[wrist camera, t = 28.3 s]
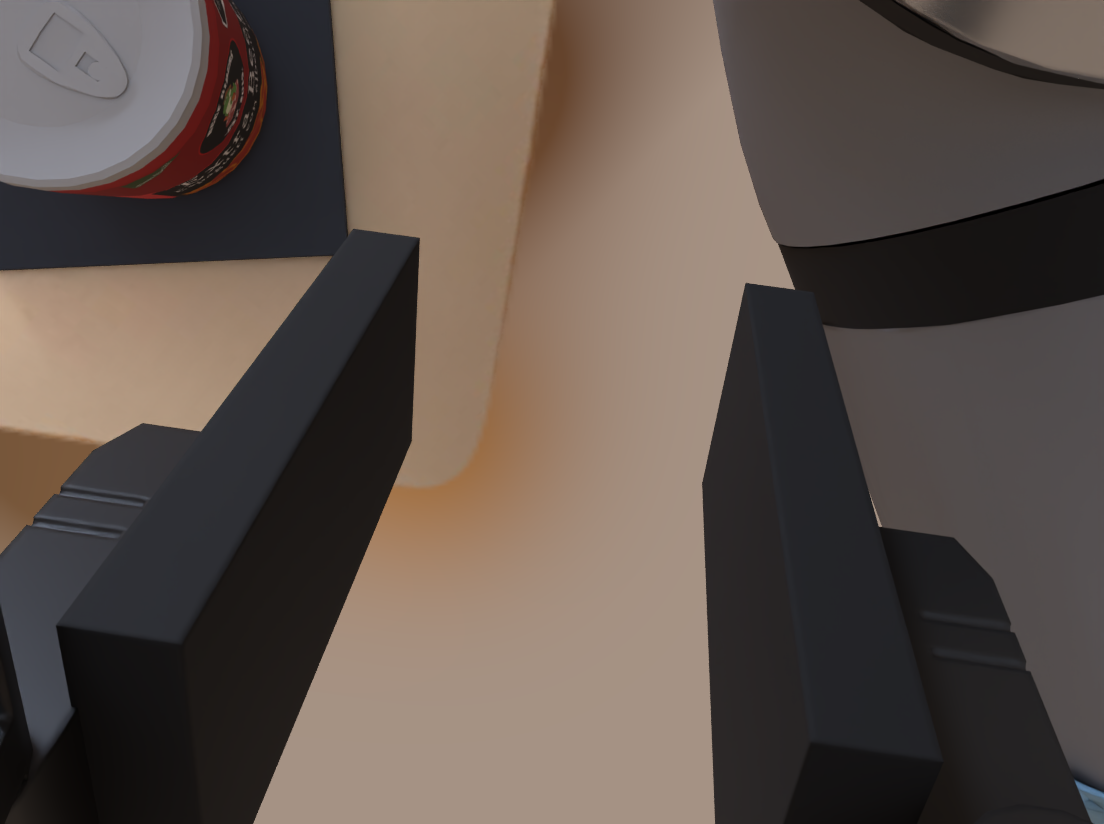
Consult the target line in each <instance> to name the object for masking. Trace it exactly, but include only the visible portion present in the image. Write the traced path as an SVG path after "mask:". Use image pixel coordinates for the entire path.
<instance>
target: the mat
mask: <svg viewBox="0 0 1104 824" xmlns="http://www.w3.org/2000/svg"><path fill="white" fill-rule="evenodd" d="M232 1H233V2H234V3H235V5H236V6H237V7H238V8H239V10H240V11H241V12H242V13H243V15H244V16H245V18H246V20H247V21H248V23H249V25H250V27H251V29H252V31H253V33H254V34H255V36H256V38H257V41H258V44H259V47H260V50H261V53H262V57H263V60H264V63H265V71H266V79H267V99H266V111H265V114H264V118H263V121H262V125H261V128H260V132H259V134H258V136H257V138H256V140H255V142H254V143H253V145H252V147H251V149H250V151H249V153H248V154H247V155H246V156H245V157H244V158H243V160H242V161H241V162H240V163H239V164H238V165H237V167H236V168H235V169H234V170H233V171H231V172H230V173H229V174H227V175H226V176H225V177H223V178H222V179H221V180H219V181H218V182H217V183H215V184H213V185H211V186H209V187H207V188H204V189H202V190H200V191H198V192H196V193H192V194H188V195H183V196H179V197H175V198H157V199H144V198H129V197H114V196H99V195H84V194H69V193H59V192H52V191H44V190H38V189H32V188H25V187H19V186H13V185H10V184H7V183H4V182H1V181H0V270H22V269H44V268H66V267H89V266H111V265H133V264H156V263H178V262H200V261H223V260H245V259H267V258H290V257H312V256H334V254H335V253H336V252H337V250H338V249H339V248H340V246H341V245H342V244H343V242H344V241H345V240H346V238H347V237H348V230H347V216H346V203H345V190H344V177H343V164H342V150H341V137H340V124H339V111H338V97H337V84H336V71H335V58H334V45H333V31H332V18H331V5H330V0H232Z"/></svg>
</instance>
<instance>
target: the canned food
mask: <svg viewBox="0 0 1104 824" xmlns="http://www.w3.org/2000/svg"><path fill="white" fill-rule="evenodd" d="M266 99H267V79H266V71H265V63H264V60H263V57H262V53H261V50H260V47H259V44H258V41H257V38H256V36H255V34H254V33H253V31H252V29H251V27H250V25H249V23H248V21H247V20H246V18H245V16H244V15H243V13H242V12H241V11H240V10H239V8H238V7H237V6H236V5H235V3H234V2H233V1H232V0H0V181H1V182H4V183H7V184H10V185H13V186H19V187H25V188H32V189H38V190H44V191H52V192H59V193H69V194H84V195H99V196H114V197H129V198H144V199H157V198H175V197H179V196H183V195H188V194H192V193H196V192H198V191H200V190H202V189H204V188H207V187H209V186H211V185H213V184H215V183H217V182H218V181H219V180H221V179H222V178H223V177H225V176H226V175H227V174H229V173H230V172H231V171H233V170H234V169H235V168H236V167H237V165H238V164H239V163H240V162H241V161H242V160H243V158H244V157H245V156H246V155H247V154H248V153H249V151H250V149H251V147H252V145H253V143H254V142H255V140H256V138H257V136H258V134H259V132H260V128H261V125H262V121H263V118H264V114H265V111H266Z"/></svg>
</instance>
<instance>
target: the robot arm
mask: <svg viewBox="0 0 1104 824" xmlns="http://www.w3.org/2000/svg"><path fill="white" fill-rule="evenodd" d="M713 3H714V9H715V15H716V21H717V27H718V33H719V39H720V45H721V51H722V56H723V61H724V66H725V71H726V76H727V81H728V86H729V90H730V95H731V100H732V105H733V110H734V114H735V119H736V124H737V129H738V134H739V138H740V143H741V146H742V150H743V153H744V156H745V159H746V163H747V166H748V169H749V172H750V175H751V179H752V182H753V185H754V189H755V192H756V195H757V198H758V202H759V205H760V207H761V210H762V212H763V215H764V217H765V220H766V222H767V225H768V227H769V229H770V232H771V235H772V237H773V239H774V240H775V241H776V242H777V243H778V245H779V247H780V250H781V253H782V255H783V258H784V261H785V263H786V266H787V269H788V271H789V274H790V277H791V279H792V282H793V285H794V287H795V290H793V289H786V288H778V287H771V286H763V285H756V284H749V283H746V284H745V289H744V293H743V298H742V302H741V307H740V311H739V316H738V321H737V326H736V330H735V335H734V339H733V344H732V348H731V353H730V358H729V363H728V367H727V372H726V376H725V381H724V386H723V390H722V395H721V399H720V404H719V409H718V413H717V418H716V422H715V427H714V432H713V436H712V441H711V445H710V450H709V455H708V460H707V464H706V469H705V473H704V478H703V482H702V488H703V513H704V541H705V568H706V594H707V619H708V645H709V646H708V647H709V673H710V699H711V725H712V751H713V777H714V804H715V824H1104V0H713ZM419 243H420V238H416V237H409V236H401V235H394V234H387V233H380V232H372V231H365V230H358V229H353V230H352V232H351V233H350V234H349V236H348V237H347V238H346V240H345V241H344V242H343V244H342V245H341V246H340V248H339V249H338V250H337V252H336V253H335V254H334V256H333V257H332V258H331V260H330V261H329V262H328V264H327V265H326V266H325V267H324V269H323V270H322V271H321V273H320V274H319V275H318V277H317V278H316V279H315V281H314V282H313V283H312V285H311V286H310V287H309V289H308V290H307V291H306V293H305V294H304V295H303V297H302V298H301V299H300V301H299V302H298V303H297V305H296V306H295V307H294V309H293V310H292V311H291V313H290V314H289V315H288V317H287V318H286V319H285V321H284V322H283V323H282V325H281V326H280V327H279V329H278V330H277V331H276V333H275V334H274V335H273V337H272V338H271V339H270V341H269V342H268V343H267V345H266V346H265V347H264V349H263V350H262V351H261V353H260V354H259V355H258V357H257V358H256V359H255V361H254V362H253V363H252V365H251V366H250V367H249V369H248V370H247V371H246V373H245V374H244V375H243V377H242V378H241V379H240V381H239V382H238V383H237V385H236V386H235V387H234V389H233V390H232V391H231V393H230V394H229V395H228V397H227V398H226V399H225V401H224V402H223V403H222V405H221V406H220V407H219V409H218V410H217V411H216V413H215V414H214V415H213V417H212V418H211V419H210V421H209V422H208V423H207V425H206V426H205V427H204V429H203V430H202V431H201V432H200V431H193V430H186V429H179V428H172V427H165V426H158V425H152V424H145V423H142V424H140V425H139V426H137V427H135V428H133V429H131V430H130V431H128V432H126V433H124V434H122V435H121V436H119V437H117V438H115V439H113V440H111V441H110V442H108V443H106V444H104V445H102V446H101V447H99V448H97V449H95V450H93V451H92V452H91V454H90V455H89V456H88V457H87V458H86V459H85V460H84V461H83V463H82V464H81V465H80V466H79V467H78V468H77V469H76V470H75V471H74V473H73V474H72V475H71V476H70V477H69V478H68V479H67V481H66V482H65V483H64V484H63V485H62V486H61V491H60V494H59V495H58V494H54V495H53V496H52V497H51V498H50V499H49V501H48V502H47V503H46V504H45V505H44V506H43V507H42V509H40V511H39V512H38V513H37V514H36V515H35V516H34V521H33V524H32V526H29V525H26V526H25V527H24V528H23V530H22V531H21V532H20V533H19V534H18V535H17V536H16V537H15V539H14V540H13V541H12V542H11V543H10V544H9V545H8V546H7V547H6V549H5V550H4V551H3V552H2V553H1V554H0V824H253V823H254V820H255V818H256V815H257V813H258V810H259V808H260V805H261V803H262V801H263V798H264V796H265V793H266V791H267V789H268V786H269V784H270V781H271V779H272V777H273V774H274V772H275V769H276V767H277V765H278V762H279V760H280V757H281V755H282V753H283V750H284V747H285V745H286V743H287V741H288V738H289V736H290V733H291V731H292V728H293V726H294V723H295V721H296V718H297V716H298V714H299V712H300V709H301V707H302V704H303V702H304V699H305V697H306V695H307V692H308V690H309V687H310V685H311V683H312V680H313V678H314V675H315V673H316V671H317V668H318V666H319V663H320V661H321V658H322V656H323V653H324V651H325V649H326V646H327V644H328V642H329V639H330V637H331V634H332V632H333V629H334V627H335V624H336V622H337V620H338V617H339V615H340V613H341V610H342V608H343V605H344V603H345V600H346V598H347V596H348V593H349V591H350V589H351V586H352V584H353V581H354V579H355V576H356V574H357V572H358V569H359V567H360V564H361V562H362V560H363V557H364V555H365V552H366V550H367V547H368V545H369V543H370V540H371V538H372V535H373V533H374V531H375V528H376V526H377V523H378V521H379V519H380V516H381V513H382V511H383V509H384V506H385V504H386V502H387V499H388V497H389V494H390V492H391V490H392V487H393V485H394V482H395V480H396V478H397V475H398V473H399V470H400V468H401V465H402V463H403V461H404V458H405V456H406V453H407V451H408V449H409V446H410V444H411V441H412V418H413V393H414V368H415V343H416V318H417V293H418V268H419ZM868 489H869V490H868ZM869 492H870V494H869ZM870 495H871V497H872V500H873V503H874V505H875V508H876V511H877V514H878V516H879V519H880V522H881V525H882V527H879V526H878V523H877V519H876V515H875V512H874V508H873V505H872V501H871V498H870Z"/></svg>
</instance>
